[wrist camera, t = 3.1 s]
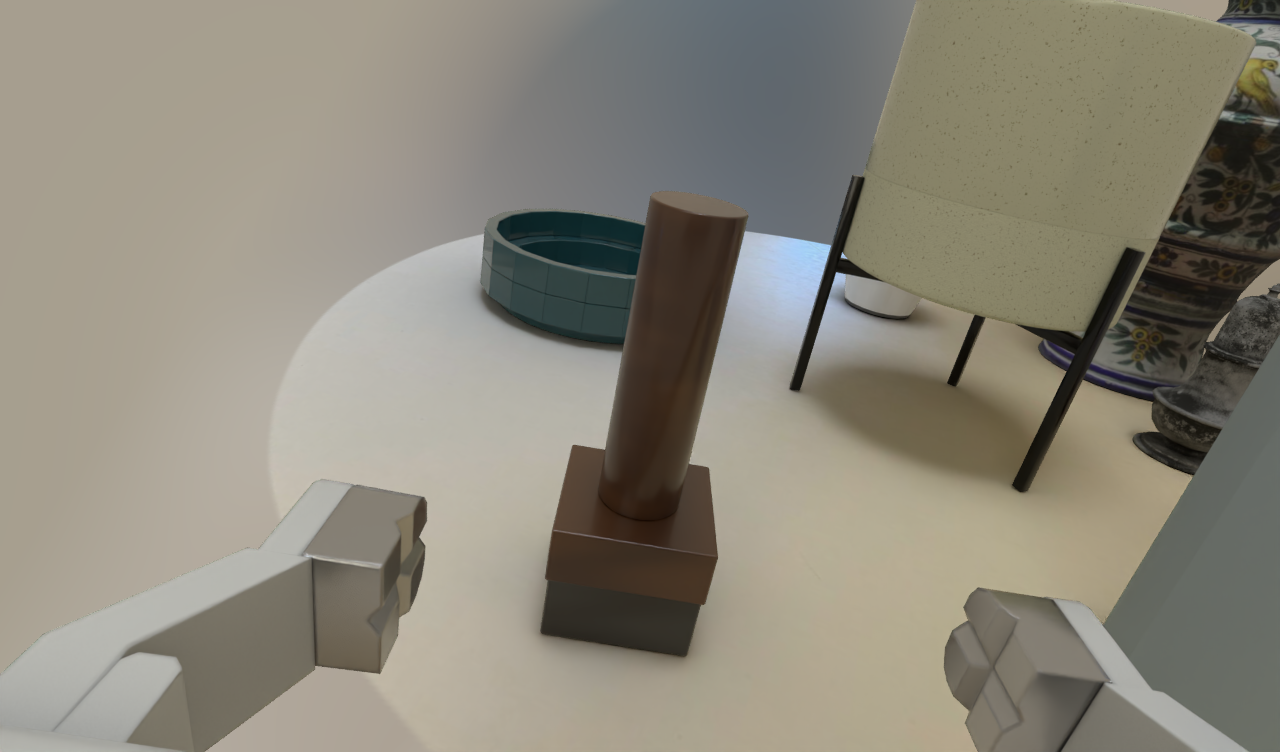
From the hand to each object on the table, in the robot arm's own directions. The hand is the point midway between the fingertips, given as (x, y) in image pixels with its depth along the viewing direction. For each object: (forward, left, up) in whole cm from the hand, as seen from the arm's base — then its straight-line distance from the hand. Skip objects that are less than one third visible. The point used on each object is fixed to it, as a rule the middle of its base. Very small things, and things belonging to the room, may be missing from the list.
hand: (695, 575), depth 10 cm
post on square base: (-2, +12, -11) cm, 16 cm away
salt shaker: (+30, +39, -11) cm, 50 cm away
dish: (-11, +41, -11) cm, 44 cm away
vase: (+32, +55, -11) cm, 64 cm away
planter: (+12, +35, -11) cm, 38 cm away
